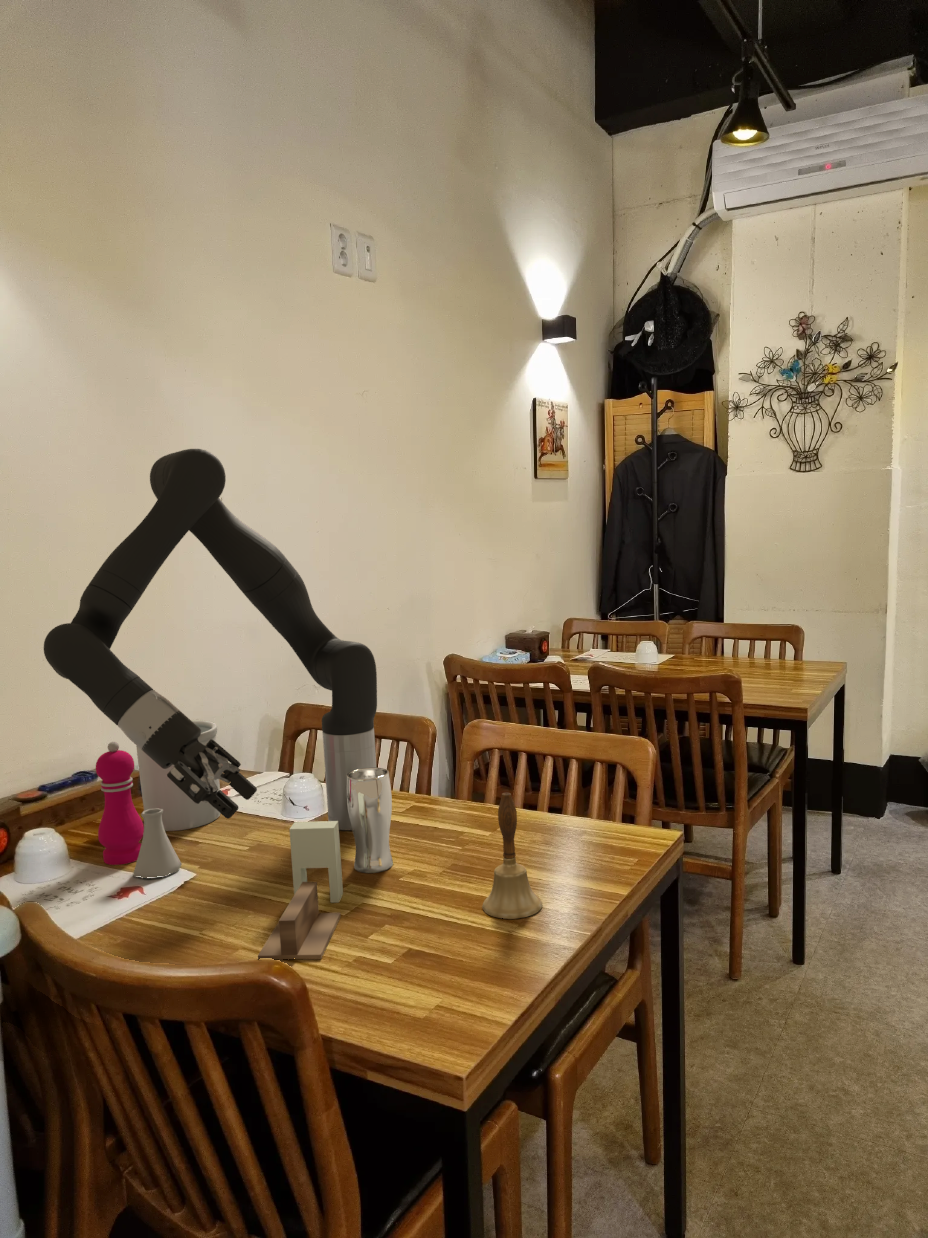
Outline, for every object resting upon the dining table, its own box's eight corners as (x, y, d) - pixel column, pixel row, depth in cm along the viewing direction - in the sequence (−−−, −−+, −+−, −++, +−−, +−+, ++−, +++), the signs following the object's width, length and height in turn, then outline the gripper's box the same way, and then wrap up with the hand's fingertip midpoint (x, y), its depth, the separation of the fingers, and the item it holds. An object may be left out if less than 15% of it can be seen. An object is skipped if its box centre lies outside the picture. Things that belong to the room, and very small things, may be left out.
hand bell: (470, 906, 124) (464, 794, 123) (515, 889, 129) (510, 781, 127) (508, 925, 118) (503, 808, 116) (554, 906, 123) (550, 793, 121)
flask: (166, 881, 139) (160, 819, 138) (124, 880, 140) (118, 818, 139) (189, 863, 146) (184, 804, 145) (149, 862, 147) (144, 803, 146)
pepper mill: (155, 852, 152) (145, 737, 150) (126, 868, 145) (115, 748, 143) (121, 849, 154) (110, 735, 152) (91, 864, 148) (79, 746, 146)
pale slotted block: (294, 903, 128) (289, 829, 127) (300, 894, 131) (294, 822, 130) (338, 902, 128) (333, 828, 126) (343, 894, 130) (338, 821, 129)
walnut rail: (283, 918, 123) (280, 882, 123) (340, 916, 123) (338, 881, 122) (258, 960, 111) (255, 921, 111) (321, 959, 111) (318, 920, 110)
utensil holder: (211, 831, 162) (203, 736, 160) (129, 834, 162) (120, 740, 160) (233, 805, 176) (226, 718, 174) (158, 808, 177) (150, 721, 175)
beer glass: (403, 860, 142) (398, 768, 141) (381, 877, 136) (375, 781, 135) (366, 855, 145) (360, 765, 144) (343, 871, 139) (336, 777, 138)
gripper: (155, 721, 121) (245, 801, 121) (194, 700, 135) (274, 772, 135) (121, 760, 121) (210, 840, 122) (163, 735, 136) (242, 807, 136)
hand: (243, 804), depth 128 cm, fingers open, 8 cm apart
